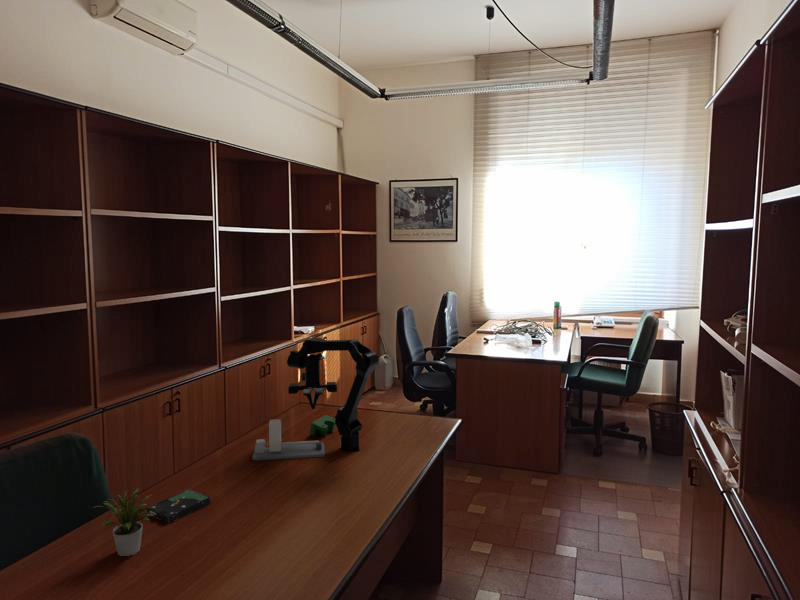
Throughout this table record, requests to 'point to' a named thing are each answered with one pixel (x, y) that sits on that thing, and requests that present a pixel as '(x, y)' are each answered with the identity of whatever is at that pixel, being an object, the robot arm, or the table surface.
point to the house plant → (128, 524)
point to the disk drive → (179, 505)
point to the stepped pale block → (275, 435)
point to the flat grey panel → (289, 450)
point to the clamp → (322, 425)
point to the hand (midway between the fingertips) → (313, 408)
